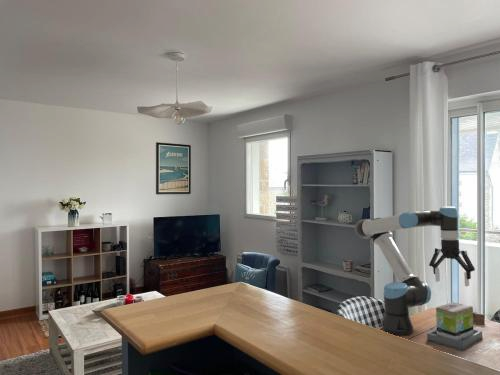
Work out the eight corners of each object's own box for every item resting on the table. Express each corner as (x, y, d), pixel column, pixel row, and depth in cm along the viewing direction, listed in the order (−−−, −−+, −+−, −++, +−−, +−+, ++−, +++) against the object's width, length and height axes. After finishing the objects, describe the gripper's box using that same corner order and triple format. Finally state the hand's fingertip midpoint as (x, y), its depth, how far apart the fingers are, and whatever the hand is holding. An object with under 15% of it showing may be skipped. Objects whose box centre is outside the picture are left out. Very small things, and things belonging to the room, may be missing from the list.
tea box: (457, 344, 171) (455, 312, 171) (436, 338, 179) (434, 306, 180) (474, 337, 179) (473, 305, 179) (453, 331, 187) (452, 301, 188)
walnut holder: (443, 327, 196) (443, 317, 196) (460, 318, 207) (460, 309, 208) (468, 333, 186) (467, 323, 186) (484, 324, 198) (484, 314, 198)
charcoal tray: (427, 340, 179) (426, 333, 179) (448, 329, 192) (447, 322, 192) (462, 350, 167) (462, 342, 167) (482, 338, 179) (482, 331, 180)
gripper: (481, 240, 173) (483, 286, 172) (428, 236, 193) (430, 278, 192) (474, 241, 168) (476, 289, 168) (420, 238, 188) (422, 280, 188)
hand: (451, 283), depth 180 cm, fingers open, 13 cm apart
